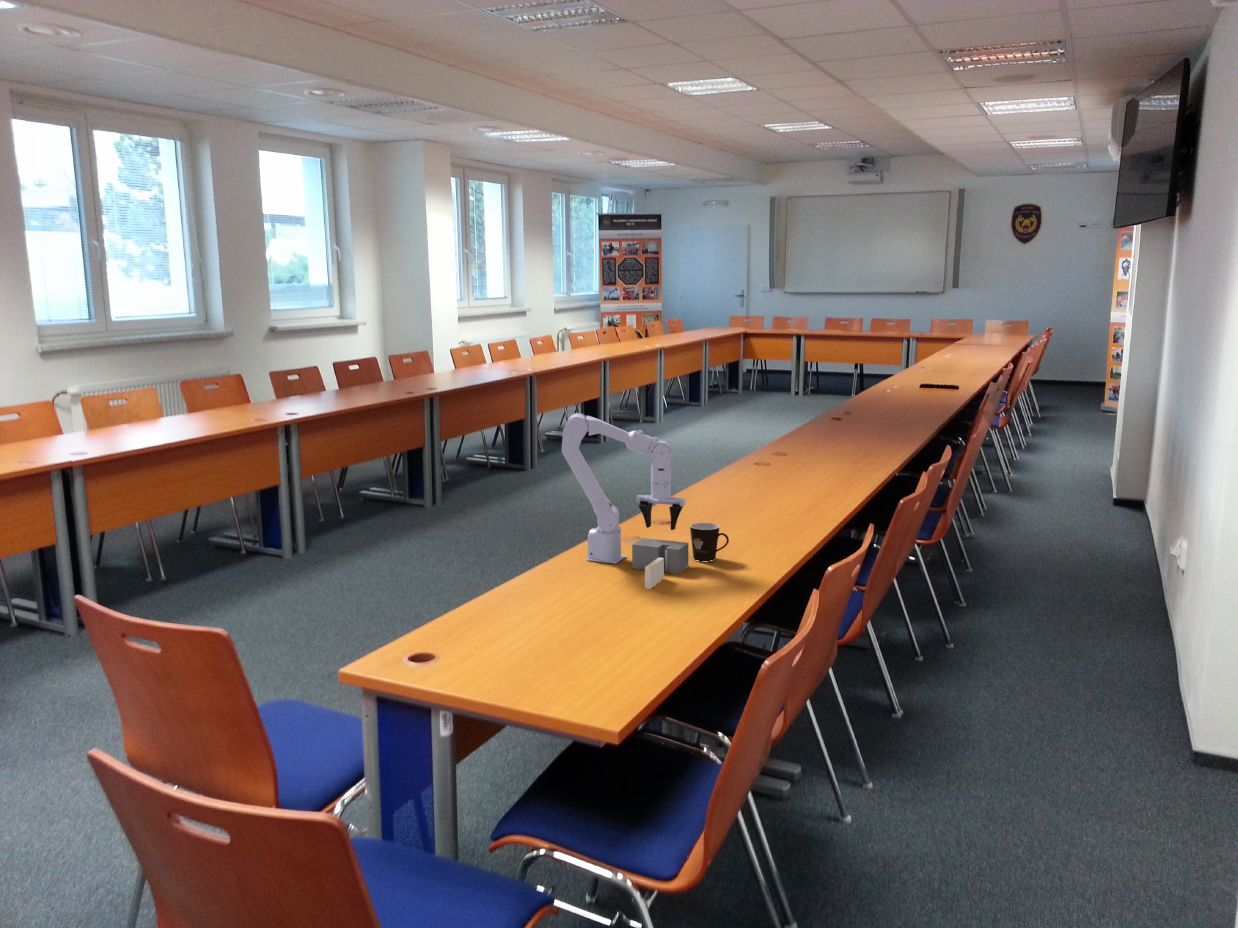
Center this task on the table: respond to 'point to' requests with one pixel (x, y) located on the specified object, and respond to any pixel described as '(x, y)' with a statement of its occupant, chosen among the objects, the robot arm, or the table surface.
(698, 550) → the coffee mug
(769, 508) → the table surface
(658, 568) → the white flat block
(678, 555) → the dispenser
